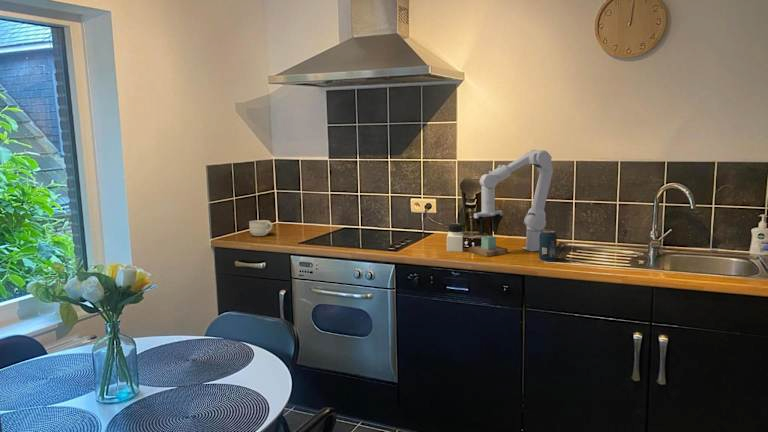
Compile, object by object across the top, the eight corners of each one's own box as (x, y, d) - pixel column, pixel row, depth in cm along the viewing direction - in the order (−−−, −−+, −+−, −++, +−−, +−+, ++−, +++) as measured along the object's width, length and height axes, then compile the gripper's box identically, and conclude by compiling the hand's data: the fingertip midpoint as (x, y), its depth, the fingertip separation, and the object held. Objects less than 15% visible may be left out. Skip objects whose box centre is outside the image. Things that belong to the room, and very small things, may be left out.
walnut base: (488, 248, 272) (488, 244, 272) (507, 253, 262) (507, 248, 262) (468, 252, 266) (468, 247, 265) (486, 256, 256) (486, 252, 255)
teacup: (245, 236, 317) (244, 221, 315) (262, 233, 325) (261, 218, 324) (262, 238, 308) (261, 223, 306) (278, 235, 316) (278, 220, 315)
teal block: (489, 246, 266) (489, 235, 265) (496, 248, 262) (496, 237, 262) (481, 248, 264) (481, 236, 263) (488, 249, 260) (488, 238, 259)
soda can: (543, 257, 252) (543, 229, 251) (559, 259, 248) (559, 230, 246) (536, 260, 247) (536, 231, 245) (552, 262, 243) (552, 233, 241)
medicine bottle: (462, 252, 266) (462, 225, 264) (446, 251, 267) (446, 225, 266) (464, 248, 273) (464, 222, 271) (448, 248, 274) (448, 222, 272)
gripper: (481, 204, 253) (481, 236, 255) (507, 201, 261) (506, 232, 263) (470, 202, 259) (470, 233, 261) (495, 199, 267) (495, 230, 269)
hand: (488, 232), depth 262 cm, fingers open, 7 cm apart
